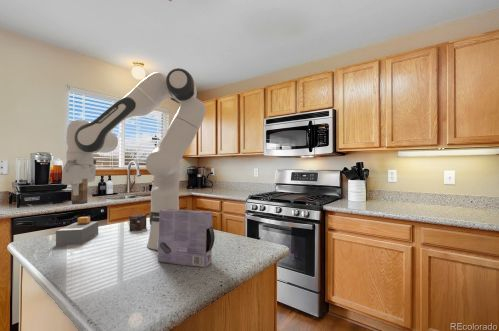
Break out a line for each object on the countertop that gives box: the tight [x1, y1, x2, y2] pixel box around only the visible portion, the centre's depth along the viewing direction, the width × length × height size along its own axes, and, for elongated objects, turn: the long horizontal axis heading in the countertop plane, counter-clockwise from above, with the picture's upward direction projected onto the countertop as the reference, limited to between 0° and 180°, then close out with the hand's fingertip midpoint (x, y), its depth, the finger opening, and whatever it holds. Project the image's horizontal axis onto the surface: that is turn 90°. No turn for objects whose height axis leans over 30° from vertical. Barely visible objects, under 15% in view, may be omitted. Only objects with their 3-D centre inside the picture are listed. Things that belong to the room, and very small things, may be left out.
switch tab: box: [77, 216, 91, 224], centre depth 117 cm, size 4×3×2 cm
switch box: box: [55, 220, 99, 246], centre depth 112 cm, size 10×16×6 cm, turn 10°
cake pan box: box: [157, 209, 215, 269], centre depth 84 cm, size 19×5×18 cm, turn 74°
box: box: [129, 213, 147, 232], centre depth 129 cm, size 6×6×7 cm
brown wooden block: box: [71, 179, 88, 205], centre depth 101 cm, size 4×4×10 cm
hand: (79, 194), depth 101 cm, fingers closed on brown wooden block, 4 cm apart
